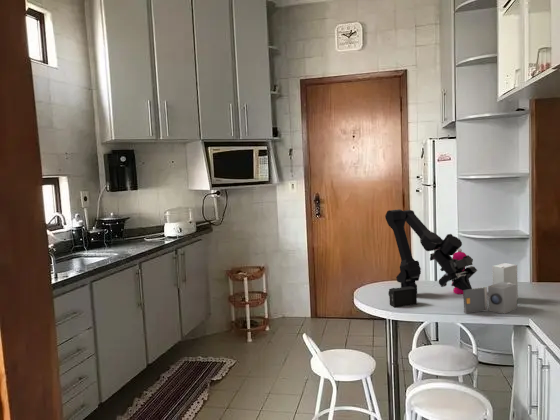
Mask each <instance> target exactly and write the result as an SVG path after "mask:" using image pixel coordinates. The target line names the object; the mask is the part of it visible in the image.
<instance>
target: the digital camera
mask: <svg viewBox="0 0 560 420" xmlns="http://www.w3.org/2000/svg"><path fill="white" fill-rule="evenodd" d="M388 290H389V291H388V297H389V306H391V307H392V308H402V307H408V306H415V305H418V303H417V302H418V301H417V298H418V297H417V294H416V288H414V287H411V286H409V287H401V286H400V287H392V288H389V289H388Z"/></svg>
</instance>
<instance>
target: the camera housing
mask: <svg viewBox="0 0 560 420" xmlns="http://www.w3.org/2000/svg"><path fill="white" fill-rule="evenodd" d="M487 298H488V311H490V312H494V313H498V314H503V313H504V315H505V314H507V313H510V312H512V311H514V310H517V309H518V304H517V303H518V299H517V290H516V284H512V283H504V282H500V283H497V284H494V285H493V284H491V285H488V287H487ZM509 311H510V312H509Z"/></svg>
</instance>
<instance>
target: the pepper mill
mask: <svg viewBox="0 0 560 420" xmlns="http://www.w3.org/2000/svg"><path fill="white" fill-rule="evenodd" d="M465 256H467V253H465V252H464V251H462V248H461V247H460V248H459V249H458V250H457V251H456V252H455V254H454V255H452V258H453V259H457V260H461V259H463V257H465ZM465 269H466V268H465ZM465 269H464V270H465ZM464 270H463V271H464ZM451 284H453V282H452V281H451ZM453 293H454V294H456V295H463V290H461V289H459V288H457V287H454V288H453Z"/></svg>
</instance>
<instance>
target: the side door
mask: <svg viewBox="0 0 560 420" xmlns="http://www.w3.org/2000/svg"><path fill="white" fill-rule="evenodd" d="M462 296H463V312H464V314H468V313H470V314H471V313H476V312H477V313H478V312H484V311H488V287H485V286H484V287H477V288H472V289H467V290H463V294H462Z"/></svg>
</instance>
